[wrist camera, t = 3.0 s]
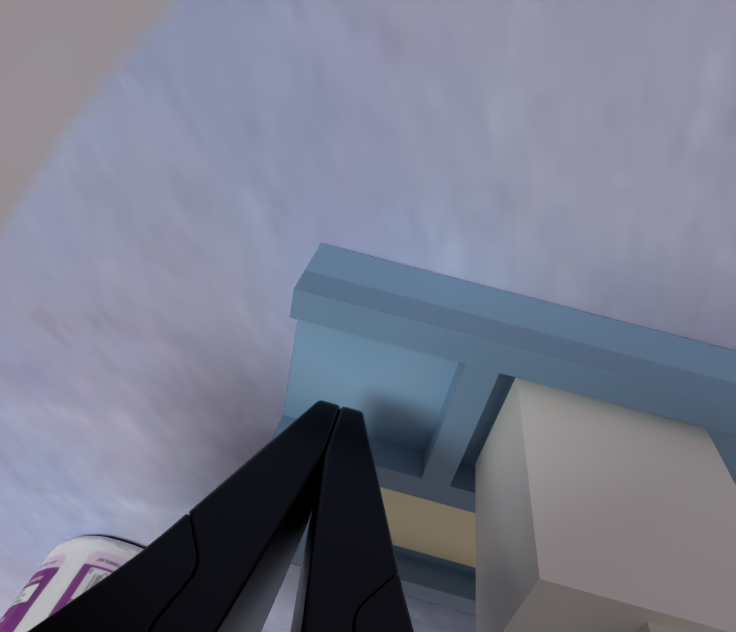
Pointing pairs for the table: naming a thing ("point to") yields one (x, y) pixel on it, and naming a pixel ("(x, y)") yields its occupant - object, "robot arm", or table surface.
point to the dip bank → (470, 389)
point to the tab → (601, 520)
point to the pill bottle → (65, 578)
